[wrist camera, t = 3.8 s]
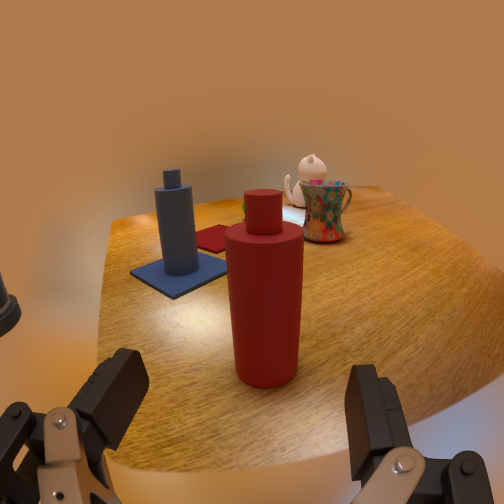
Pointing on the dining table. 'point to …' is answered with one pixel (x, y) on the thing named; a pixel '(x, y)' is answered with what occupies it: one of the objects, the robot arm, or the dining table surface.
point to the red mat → (212, 238)
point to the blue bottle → (176, 225)
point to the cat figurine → (305, 178)
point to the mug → (324, 209)
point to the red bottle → (265, 290)
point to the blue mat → (181, 276)
